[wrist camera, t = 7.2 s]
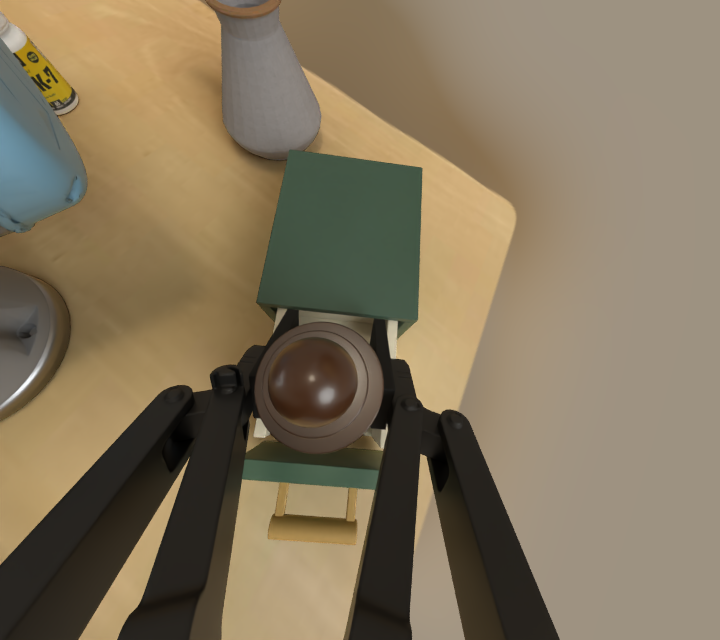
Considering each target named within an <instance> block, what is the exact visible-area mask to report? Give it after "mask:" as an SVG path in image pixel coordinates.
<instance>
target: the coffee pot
mask: <svg viewBox="0 0 720 640" xmlns="http://www.w3.org/2000/svg"><path fill="white" fill-rule="evenodd" d="M205 1H206V2H207V4H208V5H209V6H210V7H211V8H212V9H213V10H214V11H215V13H216V15H217V17H218V19H219V21H220V23H221V48H222V113H223V122H224V125H225V127H226V129H227V131H228V133H229V134H230V135H231V136H232V137H233V139H234V140H235V141H236V142H237V143H238V144H239V145H240V146H241V147H243V148H244V149H246V150H247V151H249V152H251V153H253V154H255V155H258V156H261V157H264V158H267V159H271V160H286V159H288V154H289V150H290V149H291V150H298V151H303V150H305V149H306V148H307V147H308V146H309V145H310V144H311V143H312V142H313V141H314V139H315V137H316V135H317V133H318V130H319V128H320V122H321V112H320V107H319V104H318V101H317V99H316V97H315V95H314V93H313V91H312V89H311V87H310V85H309V82H308V80H307V78H306V76H305V74H304V72H303V70H302V68H301V66H300V64H299V62H298V59H297V57H296V55H295V53H294V51H293V49H292V47H291V45H290V42H289V40H288V38H287V36H286V34H285V32H284V30H283V28H282V26H281V24H280V21H279V5H280V3H281V0H205Z"/></svg>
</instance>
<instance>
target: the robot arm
mask: <svg viewBox="0 0 720 640" xmlns="http://www.w3.org/2000/svg"><path fill="white" fill-rule="evenodd" d="M87 182H88V181H87V174H86V170H85V167H84V164H83V162H82V159H81V157H80V155H79V153H78V151H77V149H76V147H75V145H74V143H73V141H72V140H71V138H70V136H69V134H68V133H67V131H66V130H65V128H64V126H63V125H62V123H61V121H60V120H59V118H58V117H57V115H56V114H55V112H54V111H53V109H52V108H51V106H50V105H49V103H48V102H47V100H46V99H45V97H44V96H43V94H42V93H41V92H40V90H39V89H38V87H37V86H36V84H35V83H34V82H33V80H32V79H31V77H30V76H29V75H28V73H27V72H26V71H25V69H24V68H23V67H22V65H21V64H20V63H19V61H18V60H17V59H16V57H15V56H14V55H13V53H12V52H11V51H10V49H9V48H8V47H7V45H6V44H5V43H4V41H3V40H2V39H1V38H0V237H1V236H4V235H6V234H9V233H11V232H16V233H24V232H26V231H29V230H31V228H32V227H33V226H34V225H35V223H36V222H38V221H41V220H43V219H45V218H47V217H49V216H52V215H54V214H56V213H58V212H61V211H63V210H65V209H67V208H70V207H72V206H74V205H75V204H77V203H78V202H80V201H81V200H82V198H83V197H84V195H85V193H86V190H87ZM297 326H299V310H293V309H287V311H286V312H285V314H284V316H283V317H282V319H281V321H280V323H279V324H278V326H277V328H276V329H275V331H274V333H273V335H272V336H271V338H270V340H269V341H268V343H267V345H266V346H259V345H254V346H252V347H251V348H249V349H248V350H247V351H246V352H245V354H244V355H243V357H242V358H241V360H240V362H239V363H238V364H237V366H236V365H224V366H221V367H218V368H216V369H215V370H214V371H212V373H211V374H210V380H211V384H212V389H211V390H207V391H200V392H193V391H192V389H191V388H190V387H189V386H185V385H177V386H173V387H170V388H168V389H166V390H163V391H162V392H161V393H160V394H159V395H158V396H157V397H156V398H155V399H154V400H153V401H152V402H151V403H150V404H149V405H148V406H147V407H146V408H145V410H144V411H143V412H142V413H141V414H140V415H139V416H138V417H137V418H136V419H135V420H134V421H133V423H132V424H131V425H130V426H129V427H128V428H127V429H126V430H125V431H124V432H123V433H122V434H121V435H120V437H119V438H118V439H117V440H116V441H115V442H114V443H113V444H112V445H111V446H110V447H109V448H108V449H107V451H106V452H105V453H104V454H103V455H102V456H101V457H100V458H99V459H98V460H97V461H96V462H95V464H94V465H93V466H92V467H91V468H90V469H89V470H88V471H87V472H86V473H85V474H84V475H83V476H82V478H81V479H80V480H79V481H78V482H77V483H76V484H75V485H74V486H73V487H72V488H71V489H70V490H69V492H68V493H67V494H66V495H65V496H64V497H63V498H62V499H61V500H60V501H59V502H58V503H57V504H56V506H55V507H54V508H53V509H52V510H51V511H50V512H49V513H48V514H47V515H46V516H45V517H44V519H43V520H42V521H41V522H40V523H39V524H38V525H37V526H36V527H35V528H34V529H33V530H32V531H31V533H30V534H29V535H28V536H27V537H26V538H25V539H24V540H23V541H22V542H21V543H20V544H19V545H18V547H17V548H16V549H15V550H14V551H13V552H12V553H11V554H10V555H9V556H8V557H7V558H6V560H5V561H4V562H3V563H2V564H1V565H0V640H78V639H79V637H80V636H81V634H82V633H83V631H84V629H85V628H86V626H87V624H88V623H89V621H90V619H91V618H92V616H93V614H94V613H95V611H96V610H97V608H98V606H99V605H100V603H101V601H102V600H103V598H104V596H105V595H106V593H107V591H108V590H109V588H110V587H111V585H112V583H113V582H114V580H115V578H116V577H117V575H118V573H119V572H120V570H121V568H122V567H123V565H124V564H125V562H126V560H127V559H128V557H129V555H130V554H131V552H132V550H133V549H134V547H135V545H136V544H137V542H138V541H139V539H140V537H141V536H142V534H143V532H144V531H145V529H146V527H147V526H148V524H149V522H150V521H151V519H152V518H153V516H154V514H155V513H156V511H157V509H158V508H159V506H160V504H161V503H162V501H163V499H164V498H165V496H166V495H167V493H168V491H169V490H170V488H171V486H172V485H173V483H174V481H175V480H176V478H177V476H178V475H179V473H180V472H181V470H182V468H183V467H184V465H185V463H186V462H187V460H188V458H189V457H190V458H189V461H188V464H187V467H186V470H185V473H184V476H183V479H182V482H181V485H180V488H179V491H178V494H177V497H176V500H175V503H174V506H173V509H172V512H171V515H170V518H169V521H168V524H167V527H166V530H165V533H164V536H163V539H162V541H161V544H160V547H159V550H158V553H157V556H156V559H155V562H154V565H153V568H152V571H151V574H150V577H149V580H148V583H147V586H146V589H145V592H144V595H143V597H142V600H141V602H140V604H139V605H138V607H137V608H136V609H135V610H134V611H133V612H132V613H131V614H130V615H129V616H128V618H127V620H126V622H125V623H124V625H123V627H122V629H121V632H120V634H119V637H118V639H117V640H221V624H222V613H223V606H224V599H225V592H226V585H227V578H228V572H229V565H230V558H231V551H232V544H233V537H234V530H235V523H236V516H237V509H238V503H239V496H240V489H241V482H242V475H243V468H244V461H245V454H246V447H247V441H248V434H249V427H250V423H249V417H250V415H251V413H252V411H253V416H254V418H260V416H259V414H258V411H257V407H256V403H255V395H254V385H255V378H256V374H257V370H258V367H259V365H260V362H261V360H262V358H263V356H264V355H265V353H266V352H267V350H268V349H269V347H270V346H271V345H272V344H273V343H274V342H275V341H276V340H277V339H278V338H279V337H280V336H282V335H283V334H284V333H286V332H288V331H289V330H291V329H293V328H295V327H297ZM69 337H70V318H69V313H68V310H67V307H66V305H65V302H64V301H63V299H62V297H61V296H60V295H59V294H58V292H57V291H56V290H55V289H54V288H52V287H51V286H50V285H49V284H47V283H46V282H44V281H42V280H40V279H38V278H35V277H33V276H30V275H27V274H25V273H22V272H19V271H17V270H14V269H11V268H7V267H3V266H0V421H1V420H3V419H5V418H7V417H9V416H10V415H12V414H13V413H15V412H16V411H18V410H19V409H21V408H22V407H23V406H25V405H26V404H27V403H28V402H29V401H31V400H32V399H33V398H34V397H35V396H36V395H37V394H38V393H39V392H40V391H41V390H42V389H43V388H44V387H45V385H46V384H47V383H48V382H49V381H50V379H51V378H52V377H53V375H54V374H55V372H56V370H57V369H58V367H59V365H60V363H61V361H62V359H63V357H64V355H65V352H66V349H67V346H68V342H69ZM370 346H371V347H372V348H373V350H374V351H375V353H376V355H377V357H378V359H379V362H380V364H381V368H382V372H383V379H384V392H383V399H382V403H381V407H380V409H379V412H378V414H377V416H376V418H375V420H374V422H373V423H372V425H371V426H370V427H371V429H382V430H386V426H387V427H388V432H387V436H386V440H385V444H384V450H383V455H382V459H381V464H380V469H379V474H378V479H377V483H376V488H375V493H374V498H373V502H372V507H371V512H370V517H369V522H368V526H367V531H366V536H365V541H364V545H363V550H362V555H361V560H360V565H359V569H358V574H357V579H356V584H355V588H354V593H353V598H352V603H351V608H350V612H349V617H348V622H347V626H346V631H345V635H344V639H343V640H412V630H411V625H410V598H411V584H412V569H413V554H414V539H415V524H416V510H417V495H418V480H419V465H420V454H422V455H425V456H427V461H428V466H429V471H430V475H431V480H432V485H433V490H434V494H435V499H436V504H437V508H438V512H439V518H440V523H441V527H442V532H443V537H444V542H445V547H446V551H447V556H448V561H449V565H450V570H451V575H452V580H453V584H454V589H455V594H456V599H457V603H458V608H459V613H460V618H461V622H462V627H463V632H464V637H465V640H560V639H559V637H558V634H557V632H556V629H555V627H554V625H553V622H552V620H551V618H550V615H549V613H548V610H547V608H546V605H545V603H544V601H543V598H542V596H541V594H540V591H539V589H538V586H537V584H536V582H535V579H534V577H533V574H532V572H531V569H530V567H529V565H528V562H527V560H526V557H525V555H524V553H523V550H522V548H521V545H520V543H519V541H518V539H517V536H516V533H515V531H514V528H513V526H512V524H511V522H510V519H509V516H508V514H507V512H506V509H505V507H504V505H503V502H502V500H501V498H500V495H499V493H498V490H497V488H496V485H495V483H494V481H493V478H492V476H491V473H490V471H489V468H488V466H487V464H486V461H485V459H484V456H483V454H482V452H481V449H480V447H479V445H478V442H477V440H476V437H475V435H474V432H473V430H472V428H471V425H470V423H469V421H468V420H467V418H466V417H465V416H464V415H462V414H461V413H459V412H457V411H454V410H445V411H443V412H442V413H441V414H438V413H435V412H432V411H430V410H428V409H426V408H424V407H423V405H422V403H421V402H420V401H419V400H418V399H417V397H416V393H415V389H414V385H413V381H412V377H411V373H410V368H409V365H408V364H407V363H406V362H405V360H401V359H392V358H391V357H390V350H389V343H388V337H387V330H386V323H385V320H384V319H375V318H374V320H373V326H372V333H371V339H370ZM260 419H261V418H260Z"/></svg>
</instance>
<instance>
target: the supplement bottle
mask: <svg viewBox="0 0 720 640" xmlns="http://www.w3.org/2000/svg"><path fill="white" fill-rule="evenodd" d="M0 38H1V39H2V40H3V41H4V43H5V44H6V45H7V47H8V48H9V49H10V51H11V52H12V53H13V55H14V56H15V57H16V59H17V60H18V61H19V63H20V64H21V65H22V67H23V68H24V69H25V71H26V72H27V73H28V75H29V76H30V77H31V79H32V80H33V82H34V83H35V84H36V86H37V87H38V89H39V90H40V92H41V93H42V94H43V96H44V97H45V99H46V100H47V102H48V103H49V105H50V106H51V108H52V109H53V111H54V112H55V114H56V115H61V114H65V113H67V112H69V111H71V110H72V109H74V108H75V107H76V106H77V104H78V100H79V99H78V95H77V93H76V92H75V91H74V90H73V88H72V87H71V86H70V85H69V84H68V83H67V81H66V80H65V79H64V78H63V77H62V76H61V75H60V73H59V72H58V71H57V70H56V69H55V68H54V66H53V65H52V64H51V63H50V62H49V61H48V60H47V58H46V57H45V56H44V55H43V54H42V53H41V52H40V50H39V49H38V48H37V47H36V46H35V45H34V43H33V42H32V41H31V40H30V39H29V38H28V36H27V35H26V34H25V33H24V32H23V31H22V30H21V29H20V28H18V27H17V26H16V25H14V24H12V23H10V22H8V19H7V18H6V17H5V16H4V14H3V13H2V12H1V11H0Z"/></svg>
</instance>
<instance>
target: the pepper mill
mask: <svg viewBox="0 0 720 640" xmlns="http://www.w3.org/2000/svg"><path fill="white" fill-rule="evenodd" d="M383 392H384V379H383V372H382V368H381V364H380V362H379V359H378V357H377V355H376V353H375V351H374V350H373V348H372V347H371V346H370V344H369V343H368V342H367V341H366V340H365V339H364V338H363V337H362V336H361V335H359V334H358V333H357V332H355V331H354V330H352V329H350V328H348V327H346V326H343V325H340V324H337V323H332V322H312V323H307V324H303V325H300V326H297V327H295V328H293V329H291V330H289V331H288V332H286V333H284V334H283V335H282V336H280V337H279V338H278V339H277V340H276V341H275V342H274V343H273V344H272V345H271V346H270V347H269V349H268V350H267V352H266V353H265V355H264V356H263V358H262V360H261V362H260V365H259V367H258V370H257V374H256V378H255V385H254V395H255V403H256V407H257V411H258V414H259V416H260V418H261V421H262V422H263V424H264V426H265V427H266V429H267V430H268V431H269V432H270V434H271V435H272V436H273V437H274V438H275V439H277V440H278V441H279V442H280V443H282V444H283V445H285V446H287V447H289V448H291V449H293V450H296V451H299V452H302V453H308V454H325V453H331V452H334V451H338V450H340V449H343V448H345V447H347V446H349V445H350V444H352V443H354V442H355V441H356V440H358V439H359V438H360V437H361V436H362V435H363V434H364V433H365V432H366V431H367V430H368V429H369V427H370V426H371V425H372V423H373V422H374V420H375V418H376V416H377V414H378V412H379V409H380V407H381V403H382V399H383Z"/></svg>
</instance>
